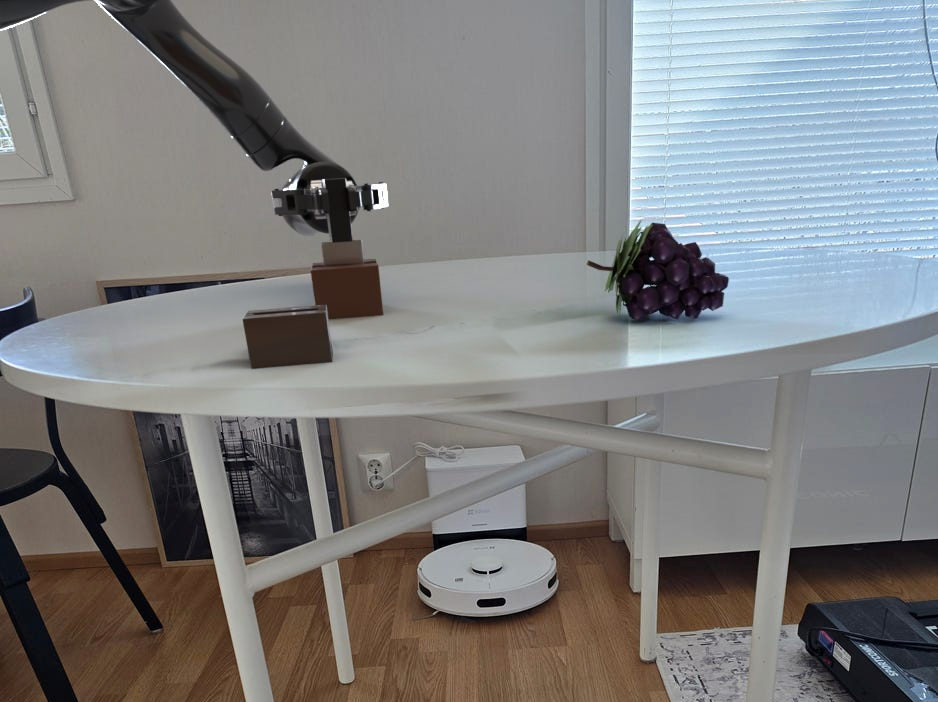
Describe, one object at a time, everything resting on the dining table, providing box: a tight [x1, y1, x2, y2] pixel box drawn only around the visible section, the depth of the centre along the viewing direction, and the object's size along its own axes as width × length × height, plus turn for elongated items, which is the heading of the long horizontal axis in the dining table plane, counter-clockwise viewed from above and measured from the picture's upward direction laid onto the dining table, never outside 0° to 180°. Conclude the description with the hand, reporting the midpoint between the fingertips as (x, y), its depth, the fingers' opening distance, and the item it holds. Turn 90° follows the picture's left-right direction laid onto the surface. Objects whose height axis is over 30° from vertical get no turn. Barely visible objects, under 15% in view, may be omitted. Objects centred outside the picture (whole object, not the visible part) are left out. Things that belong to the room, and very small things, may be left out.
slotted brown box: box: [310, 258, 385, 321], centre depth 96 cm, size 8×8×7 cm
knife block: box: [242, 304, 334, 370], centre depth 78 cm, size 5×7×5 cm
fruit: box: [586, 218, 730, 322], centre depth 90 cm, size 10×11×15 cm
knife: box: [320, 178, 364, 267], centre depth 93 cm, size 3×4×14 cm
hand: (339, 200), depth 88 cm, fingers closed on knife, 2 cm apart
